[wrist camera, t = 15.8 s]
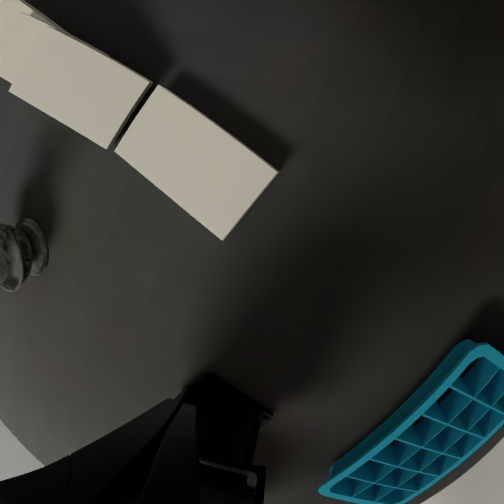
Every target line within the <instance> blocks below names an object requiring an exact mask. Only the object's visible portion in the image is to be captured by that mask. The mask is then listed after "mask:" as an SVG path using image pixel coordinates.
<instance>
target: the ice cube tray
mask: <svg viewBox="0 0 504 504" xmlns="http://www.w3.org/2000/svg"><path fill="white" fill-rule="evenodd" d="M476 358H479V359H478V361H477V362H476V363H475V364H474V365H473V367H472V368H471V369H470V370H469V371H468V373H467V374H466V375H465V376H464V377H463V378H461V377H459V375H460V374H461V373H462V372H463V371H464V370H465V369H466V367H467V366H468V365H469V364H470V363H471V362H473V361H474V360H475V359H476ZM449 387H450V388H452V390H451V391H450V393H449V394H448V395H447V396H446V397H445V398H444V399H443V400H442V401H441V402H440V403H439V404H438V403H436V402H435V401H436V400H437V399H438V398H439V397H440V396H441V395H442V394H443V393H444V392H445V391H446V390H447V389H448V388H449ZM421 415H422V416H424V417H425V418H424V419H423V420H421V421H420V422H419V423H418V424H417V425H416V426H414V425H411V424H413V423H414V422H415V421H416V420H417V419H418V418H419V417H420V416H421ZM503 424H504V355H503V354H501V353H500V352H499V351H498V350H496V349H495V348H494V347H492V346H491V345H490V344H488V343H487V342H485V343H477V344H476V343H474V342H473V341H472V340H470V339H468V340H464V341H461V342H460V343H459V344H457V345H456V346H455V347H454V348H453V349H452V350H451V352H450V353H449V354H448V355H447V356H446V358H445V359H444V360H443V361H442V362H441V364H440V365H439V366H438V367H437V368H436V369H435V370H434V372H433V373H432V374H431V375H430V376H429V377H428V378H427V379H426V380H425V382H424V383H423V384H422V385H421V386H420V387H419V388H418V389H417V390H416V391H415V392H414V393H413V394H412V395H411V396H410V397H409V398H408V399H407V400H406V401H405V402H404V403H403V404H402V405H401V406H400V407H399V408H398V409H397V410H396V411H395V412H394V413H393V414H392V415H391V416H390V417H389V418H388V419H387V420H385V421H384V422H383V423H382V424H381V425H380V426H379V427H378V428H377V429H375V430H374V431H373V432H372V433H371V434H370V435H369V436H367V437H366V438H365V439H364V440H363V441H361V442H360V443H359V444H358V445H357V446H355V447H354V448H353V449H352V450H350V451H349V452H348V453H347V454H345V455H344V456H343V457H341V458H340V459H339V460H338V461H336V462H335V463H334V464H333V465H332V466H331V467H330V469H329V479H328V480H327V481H325V482H324V483H322V484H321V485H320V487H319V488H318V492H319V493H320V494H321V495H323V496H327V497H331V498H336V499H340V500H344V501H349V502H354V503H359V504H404V503H406V502H407V501H409V500H411V499H412V498H414V497H415V496H417V495H418V494H420V493H421V492H423V491H424V490H426V489H427V488H429V487H430V486H431V485H433V484H434V483H436V482H437V481H438V480H440V479H441V478H442V477H444V476H445V475H446V474H448V473H449V472H450V471H452V470H453V469H454V468H455V467H457V466H458V465H459V464H460V463H462V462H463V461H464V460H465V459H466V458H468V457H469V456H470V455H471V454H472V453H473V452H475V451H476V450H477V449H478V448H479V447H480V446H481V445H482V444H483V443H485V442H486V441H487V440H488V439H489V438H490V437H491V436H492V435H493V434H494V433H495V432H496V431H497V430H498V429H499V428H500V427H501V426H502V425H503ZM394 439H395V440H398V442H397V443H395V444H394V445H390V443H391V442H392V441H393V440H394ZM368 460H372V461H373V462H369V461H368Z"/></svg>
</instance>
